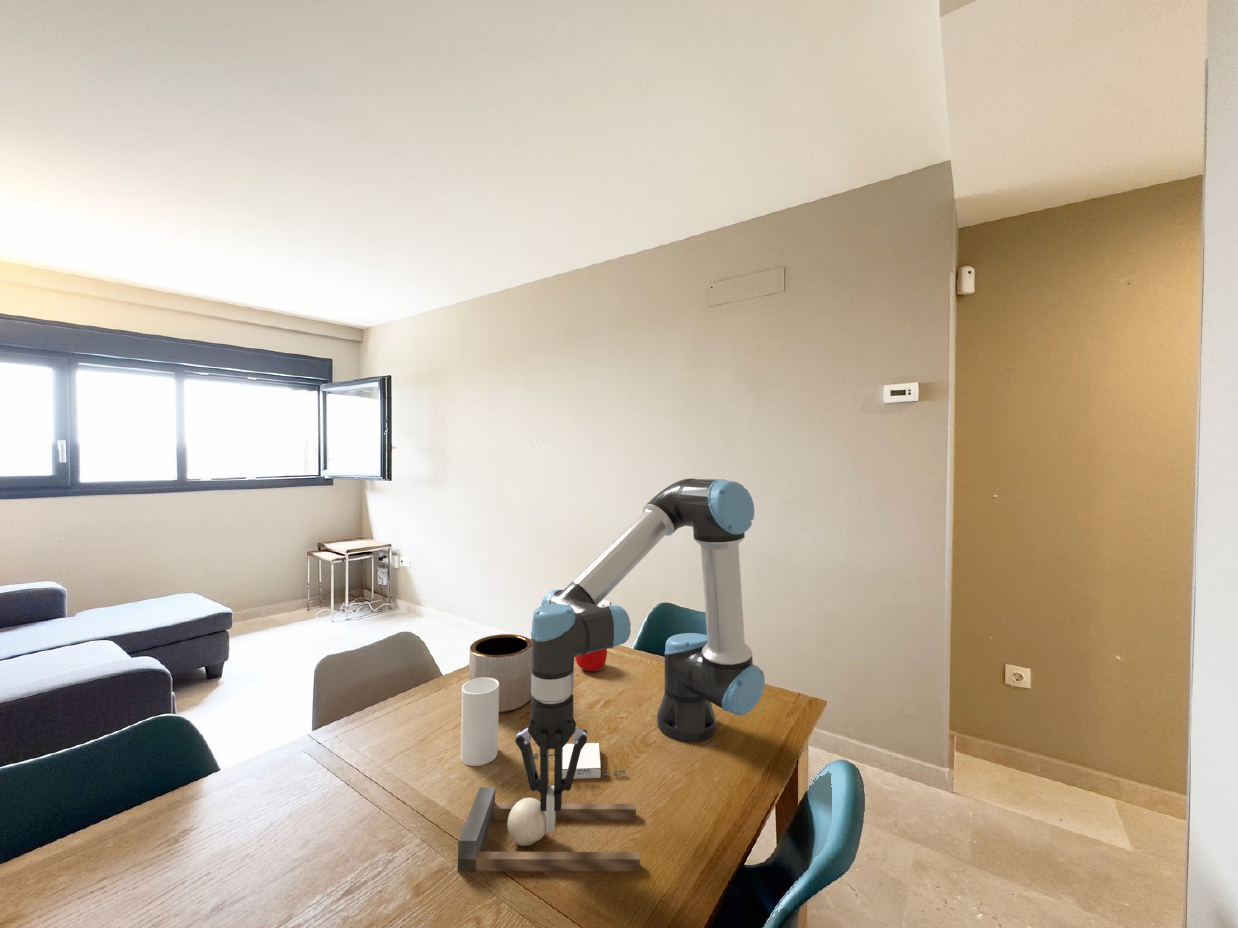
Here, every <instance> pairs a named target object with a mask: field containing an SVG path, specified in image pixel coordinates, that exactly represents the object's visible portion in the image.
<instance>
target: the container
mask: <svg viewBox="0 0 1238 928" xmlns="http://www.w3.org/2000/svg"><path fill="white" fill-rule="evenodd" d="M574 744H575V743H574V742H572V743H571V742H570V743H569V742H568V743H566V745H565V746H564V747H563V765H562V779H564V778H566V774H567V771H568V767H569V763H570V759H571V755H572V751H573V747H574ZM600 747H601V746H600V742H586V744H585V745H584V746H583V748H582V749H581V752H580V756H579V760H578V763H577V767H576V771H575V775H574V779H578V780H579V779H600V778H602V764H601V763H602V762H601V748H600ZM533 756H534V760H538V759H539V756H540V753H533ZM549 757H550V759H553V757H555V756H554V753H552V754H551V753H549ZM603 772H605V773H604V774H603V776H604V777H608V776H609V774H608V773H609V771H608V770H606V769H604V770H603ZM617 773H618V774H617ZM620 774H621V776H627V772H626V770H614V771H613V772H612V775H613V776H620ZM574 779H573V780H574Z"/></svg>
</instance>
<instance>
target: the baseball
mask: <svg viewBox="0 0 1238 928" xmlns="http://www.w3.org/2000/svg"><path fill="white" fill-rule="evenodd" d="M515 803H516V804H515V805H514V806H513V808H512V809H511V811H510V814H509V817H508V819H507V822H506V823H507V831H508V834H509V836H510V839H512V841H513V842H514V843H515V844H517V845H519V846H522V847H527V846H532V845H533V844H536V843H537V842H538V841H539V840H541V839H542V838H543V837H544V835H545V834H546V811H541V809H540V800H538V798H537V799H536V798H534V797H524V798H521V799H520V800H518V801H517V802H515Z"/></svg>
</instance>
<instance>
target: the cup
mask: <svg viewBox="0 0 1238 928" xmlns="http://www.w3.org/2000/svg"><path fill="white" fill-rule="evenodd" d="M498 712H499V682H498V681H497V680H495V679H493V678H476V679H472V680H470V681H469V680H468V681H466V682H465V683H463V685H462V686H461V717H460V718H461V719H460V720H461V721H460V723H461V724H460V726H461V727H460V761H461V762H462V764H465V765H466V766H473V767H477V766H478V767H479V766H483V765H486V764H489V763H491V762H492V761H494V760H495V759H496V757H497V756H498V753H499V752H498V751H499V713H498Z"/></svg>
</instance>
